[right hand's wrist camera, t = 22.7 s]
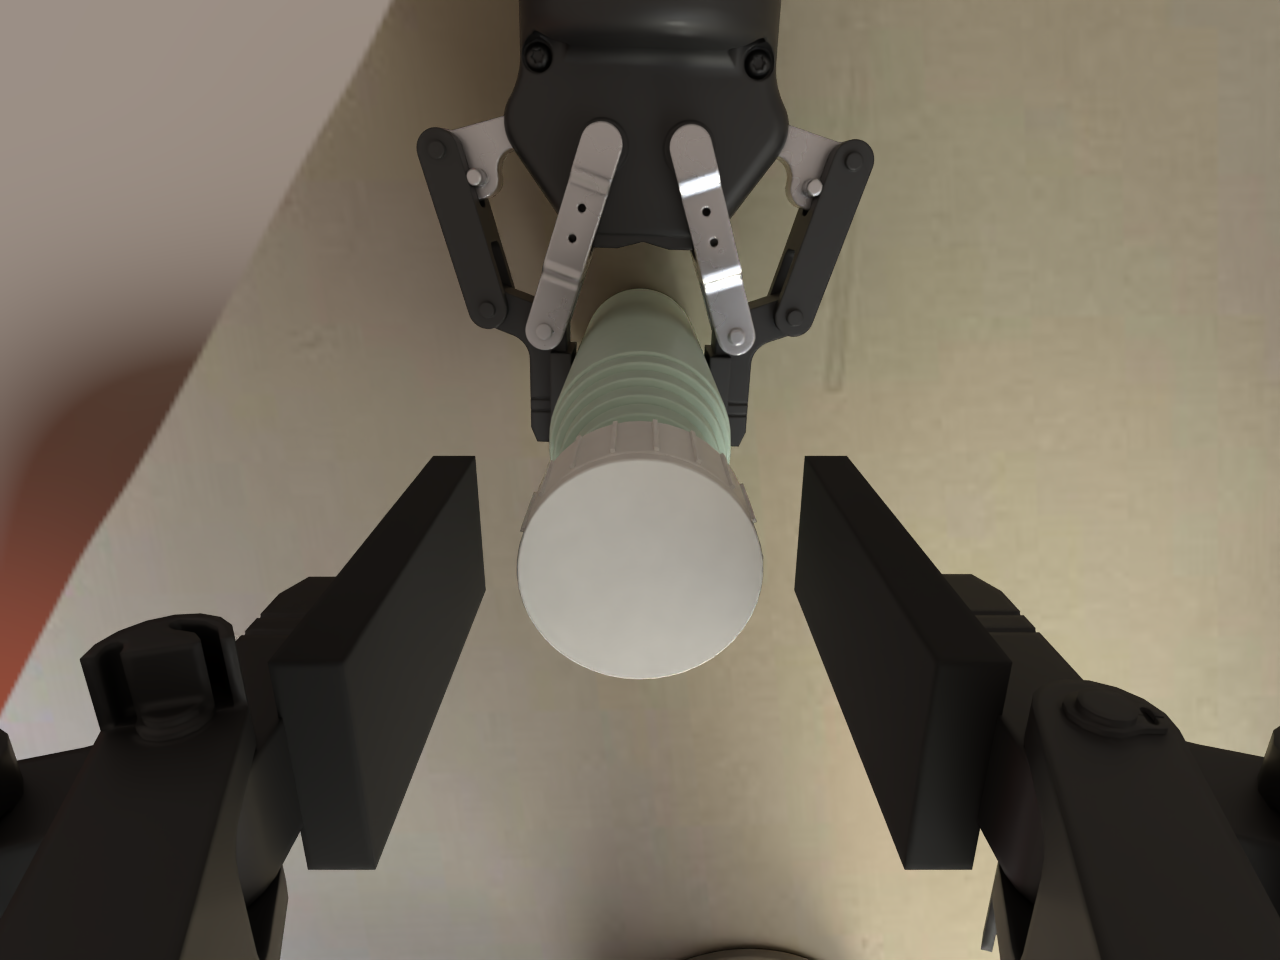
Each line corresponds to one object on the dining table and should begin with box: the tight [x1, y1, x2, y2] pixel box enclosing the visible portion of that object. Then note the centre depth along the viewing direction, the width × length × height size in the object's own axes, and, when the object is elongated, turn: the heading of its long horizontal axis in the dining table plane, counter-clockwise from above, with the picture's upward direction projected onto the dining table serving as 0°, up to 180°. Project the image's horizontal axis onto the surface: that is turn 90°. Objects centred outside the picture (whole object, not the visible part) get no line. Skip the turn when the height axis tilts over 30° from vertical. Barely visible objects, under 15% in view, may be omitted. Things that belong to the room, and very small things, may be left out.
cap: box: [517, 419, 763, 679], centre depth 13 cm, size 4×4×2 cm
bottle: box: [549, 289, 731, 465], centre depth 22 cm, size 4×4×20 cm
